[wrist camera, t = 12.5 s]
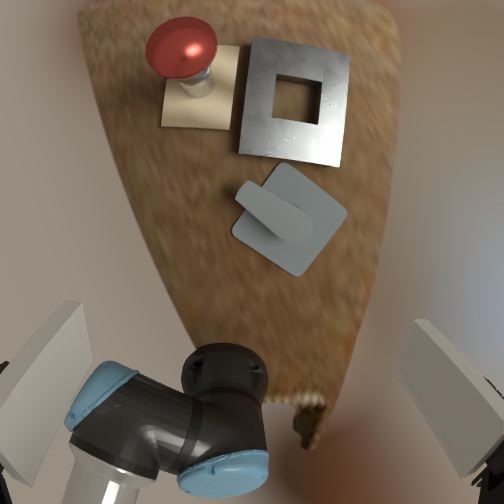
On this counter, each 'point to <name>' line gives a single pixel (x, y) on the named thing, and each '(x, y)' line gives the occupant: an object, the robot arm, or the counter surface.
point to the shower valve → (287, 218)
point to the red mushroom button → (184, 54)
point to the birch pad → (207, 108)
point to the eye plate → (286, 131)
